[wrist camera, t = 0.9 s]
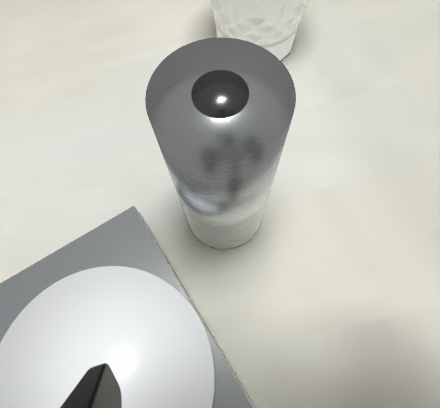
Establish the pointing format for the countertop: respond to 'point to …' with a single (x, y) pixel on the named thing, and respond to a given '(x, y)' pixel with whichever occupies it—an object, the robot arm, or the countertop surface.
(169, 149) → the metal canister
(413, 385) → the countertop surface
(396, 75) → the countertop surface
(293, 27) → the white cup
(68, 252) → the scale
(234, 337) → the countertop surface
